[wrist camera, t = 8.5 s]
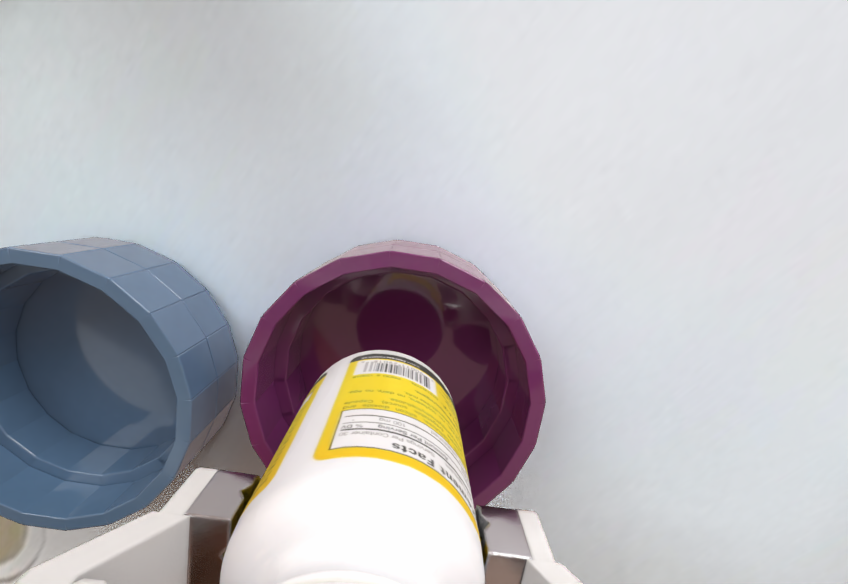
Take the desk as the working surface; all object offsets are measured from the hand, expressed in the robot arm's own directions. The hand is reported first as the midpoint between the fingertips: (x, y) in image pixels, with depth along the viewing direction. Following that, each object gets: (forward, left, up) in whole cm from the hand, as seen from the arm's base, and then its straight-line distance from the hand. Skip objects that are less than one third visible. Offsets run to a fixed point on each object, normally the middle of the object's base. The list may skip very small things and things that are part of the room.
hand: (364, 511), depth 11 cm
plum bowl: (0, 0, -10) cm, 10 cm away
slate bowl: (+13, +2, -10) cm, 17 cm away
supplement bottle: (0, 0, -5) cm, 5 cm away
